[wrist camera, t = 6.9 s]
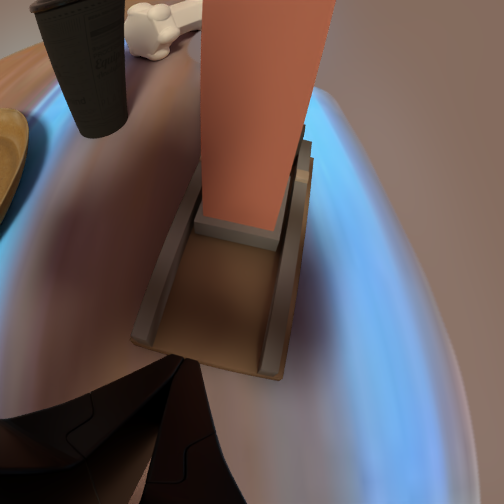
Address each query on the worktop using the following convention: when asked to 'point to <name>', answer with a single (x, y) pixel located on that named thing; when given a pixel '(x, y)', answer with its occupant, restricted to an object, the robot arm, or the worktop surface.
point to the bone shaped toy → (160, 26)
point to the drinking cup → (87, 59)
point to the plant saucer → (11, 154)
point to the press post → (254, 110)
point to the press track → (227, 287)
